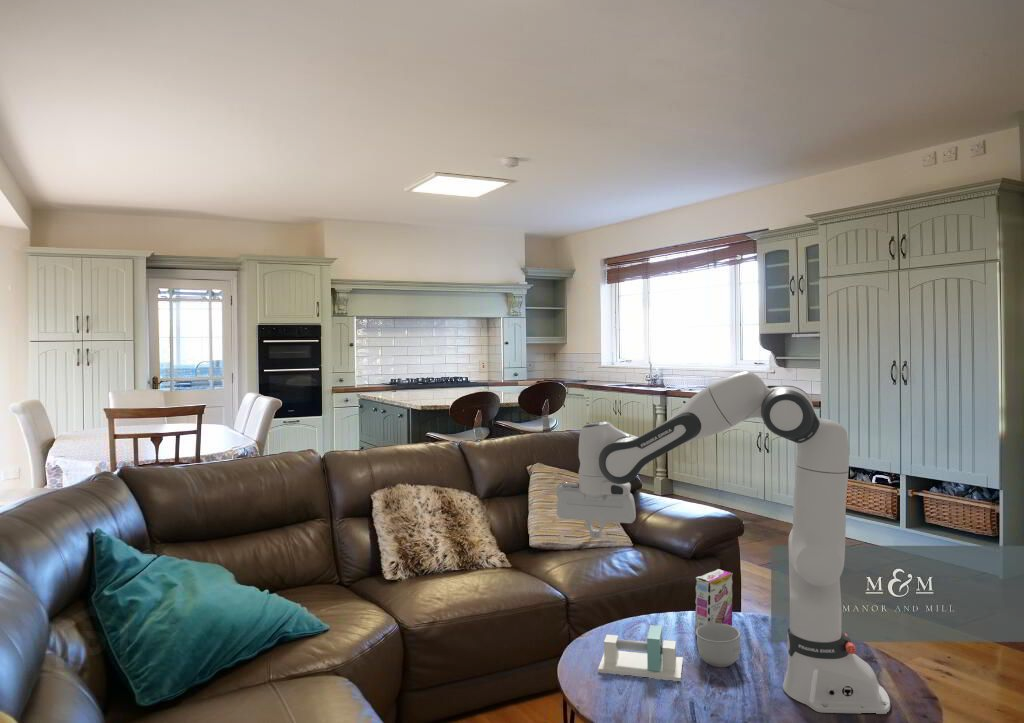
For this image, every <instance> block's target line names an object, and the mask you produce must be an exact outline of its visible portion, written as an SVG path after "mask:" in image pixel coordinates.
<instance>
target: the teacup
mask: <svg viewBox="0 0 1024 723" xmlns="http://www.w3.org/2000/svg"><path fill="white" fill-rule="evenodd" d="M695 636H696V643H697V645H696V646H697V650H698V651H697V652H698V655H699V657H700V658H701V659H702V660H703V661H704V662H706V664H709V665H710V666H711V667H717V668H726V667H729V666H731V665H733V664H734V663H735V662H737V661H738V660H739V657H740V655H741V632H740V630H739V629H738V628H737V627H735V626H733V625H732V626H730V625H727V624H720V623H714V622H713V621H708V622H707V624H706V625H702V626H700V627H699V628H698V629H697V630H696V635H695Z"/></svg>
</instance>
